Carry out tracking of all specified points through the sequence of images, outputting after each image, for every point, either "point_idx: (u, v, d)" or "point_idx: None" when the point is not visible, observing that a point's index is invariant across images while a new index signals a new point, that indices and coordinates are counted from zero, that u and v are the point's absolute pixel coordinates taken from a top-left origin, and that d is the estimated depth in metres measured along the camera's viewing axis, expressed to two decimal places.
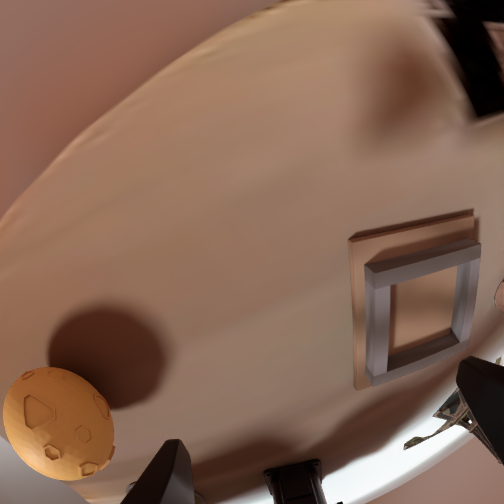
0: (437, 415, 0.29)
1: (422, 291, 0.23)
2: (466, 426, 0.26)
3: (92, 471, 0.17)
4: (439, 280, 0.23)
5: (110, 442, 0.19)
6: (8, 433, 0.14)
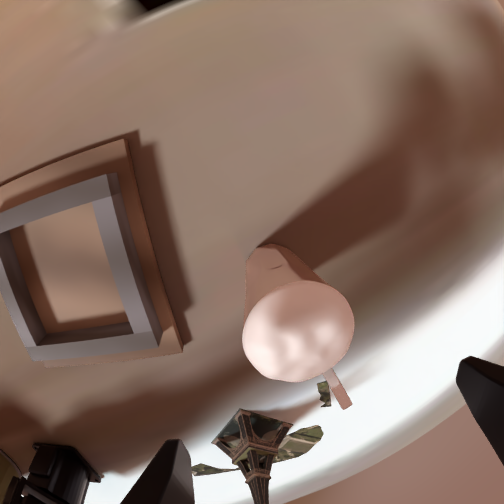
0: (216, 443, 0.24)
1: (62, 250, 0.17)
2: (244, 472, 0.20)
3: None
4: (82, 236, 0.17)
5: None
6: None
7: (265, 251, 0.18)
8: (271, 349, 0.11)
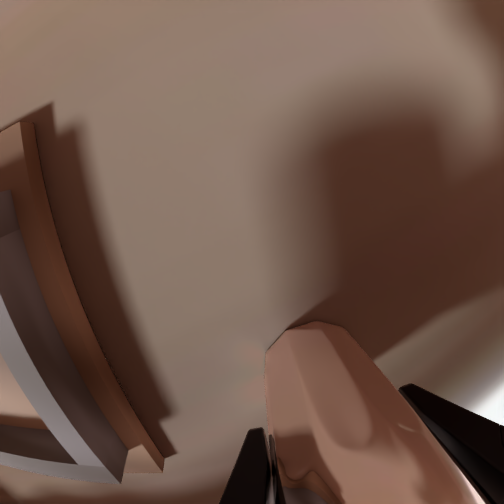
0: None
1: None
2: None
3: None
4: None
5: None
6: None
7: (309, 350, 0.08)
8: None
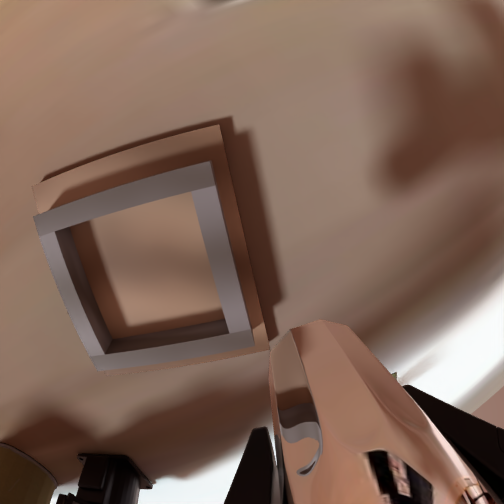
0: None
1: (140, 246, 0.17)
2: None
3: None
4: (167, 229, 0.17)
5: None
6: None
7: (314, 349, 0.08)
8: None
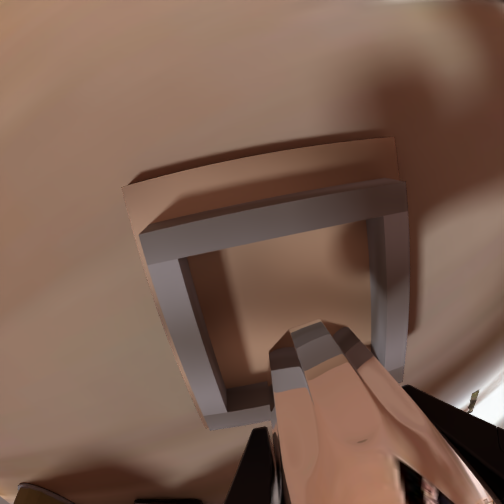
0: None
1: (289, 277, 0.14)
2: None
3: None
4: (327, 257, 0.14)
5: None
6: None
7: (313, 348, 0.08)
8: None
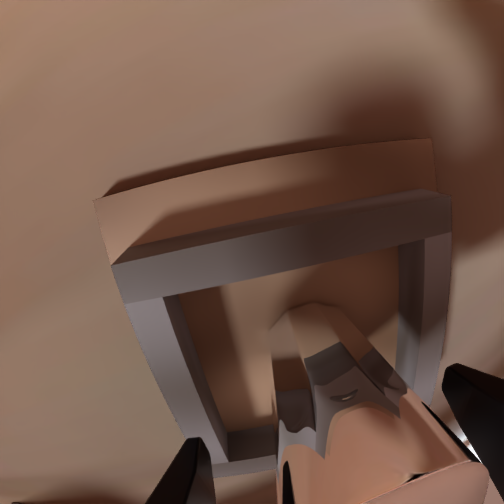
0: None
1: None
2: None
3: None
4: (350, 287, 0.11)
5: None
6: None
7: (307, 326, 0.09)
8: None
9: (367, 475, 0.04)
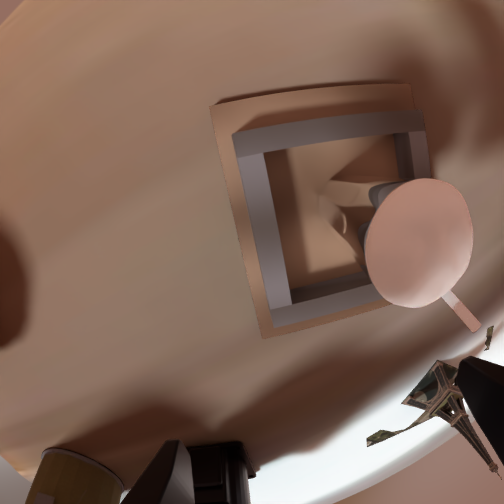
0: (408, 402, 0.24)
1: None
2: (447, 418, 0.20)
3: None
4: (367, 168, 0.17)
5: None
6: None
7: (345, 179, 0.15)
8: (409, 254, 0.08)
9: (398, 182, 0.09)
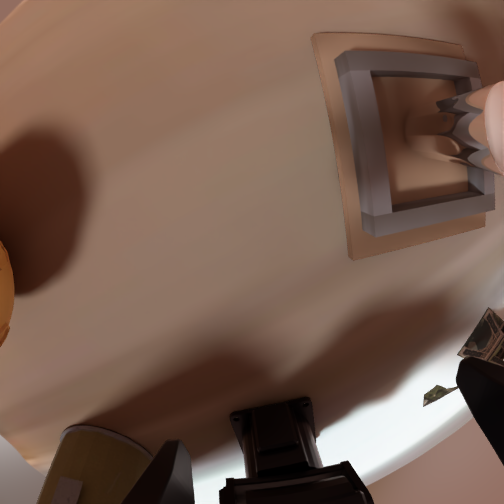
0: (463, 352, 0.23)
1: None
2: (503, 363, 0.20)
3: None
4: None
5: None
6: None
7: None
8: None
9: None
